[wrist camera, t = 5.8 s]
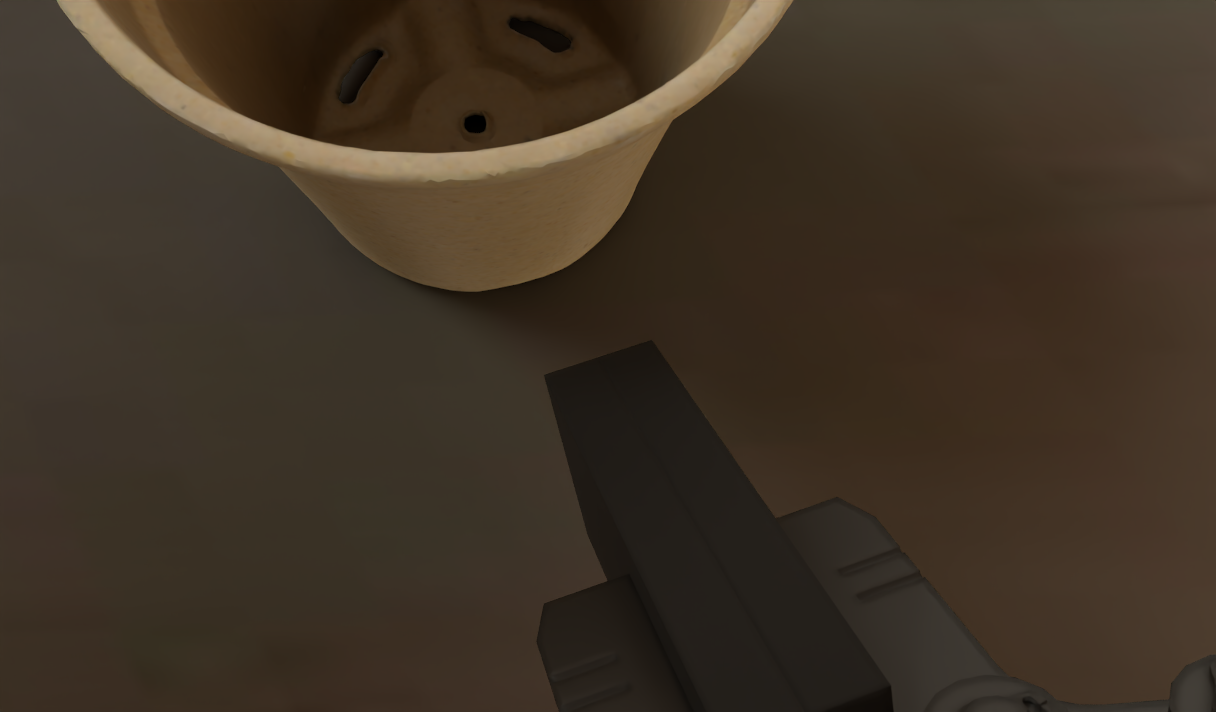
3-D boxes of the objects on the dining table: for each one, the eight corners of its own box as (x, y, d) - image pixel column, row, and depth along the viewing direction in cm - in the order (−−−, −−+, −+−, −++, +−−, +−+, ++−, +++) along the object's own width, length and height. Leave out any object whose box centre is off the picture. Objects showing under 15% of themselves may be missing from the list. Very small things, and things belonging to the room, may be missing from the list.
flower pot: (719, 409, 20) (838, 214, 12) (177, 366, 20) (-87, 136, 12) (738, -52, 23) (848, -475, 14) (261, -96, 22) (94, -552, 14)
